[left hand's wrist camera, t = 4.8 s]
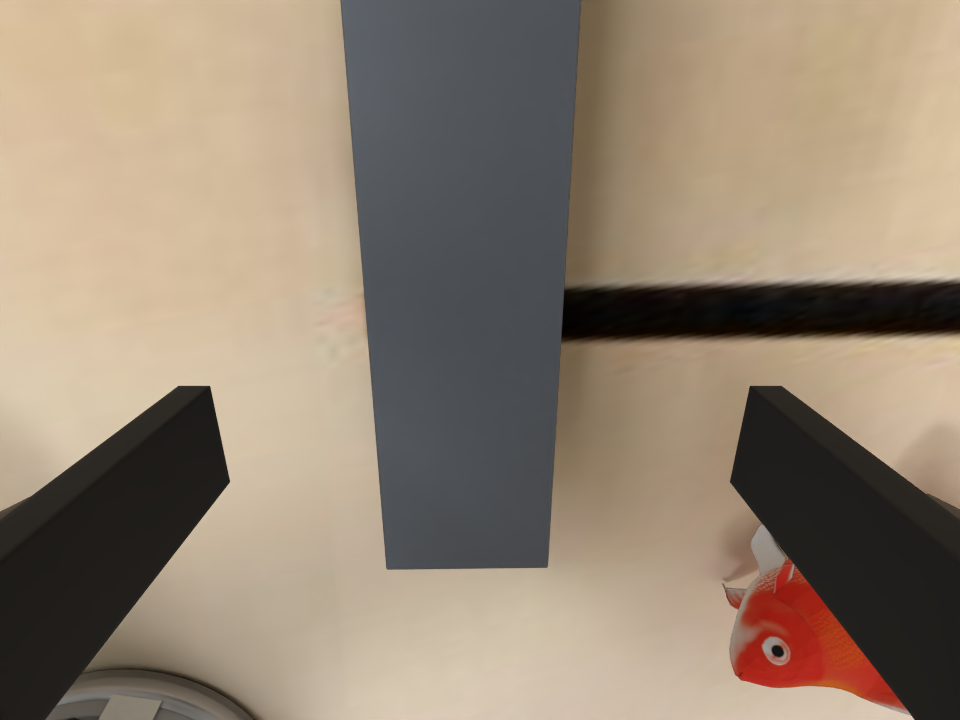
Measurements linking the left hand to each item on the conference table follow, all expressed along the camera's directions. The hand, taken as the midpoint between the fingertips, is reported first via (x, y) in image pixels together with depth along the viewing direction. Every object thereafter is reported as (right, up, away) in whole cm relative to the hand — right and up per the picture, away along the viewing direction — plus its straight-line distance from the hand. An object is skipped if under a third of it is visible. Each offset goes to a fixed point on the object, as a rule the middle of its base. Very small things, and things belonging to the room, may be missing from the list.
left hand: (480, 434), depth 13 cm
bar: (-1, +25, +2) cm, 25 cm away
